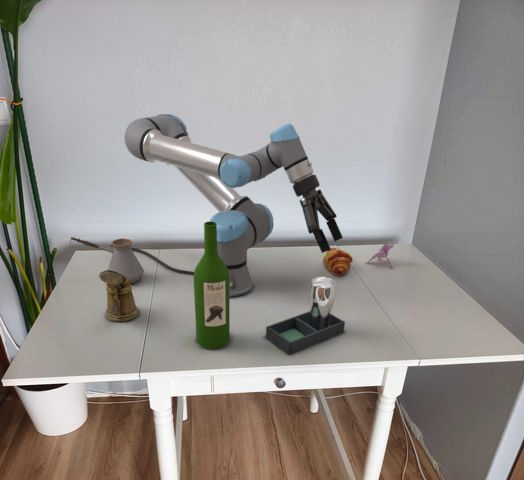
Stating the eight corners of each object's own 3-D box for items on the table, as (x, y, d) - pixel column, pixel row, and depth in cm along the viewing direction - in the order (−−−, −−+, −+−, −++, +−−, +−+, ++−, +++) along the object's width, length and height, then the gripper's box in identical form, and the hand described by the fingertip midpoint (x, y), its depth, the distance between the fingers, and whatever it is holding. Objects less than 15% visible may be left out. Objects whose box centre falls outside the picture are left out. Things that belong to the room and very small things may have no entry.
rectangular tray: (265, 337, 137) (266, 326, 135) (318, 317, 147) (320, 307, 145) (289, 354, 130) (290, 343, 128) (343, 332, 141) (344, 321, 139)
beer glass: (329, 337, 138) (335, 289, 130) (304, 334, 139) (308, 285, 131) (331, 325, 144) (337, 278, 135) (307, 322, 145) (311, 275, 136)
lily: (395, 261, 187) (388, 237, 185) (410, 261, 176) (402, 236, 173) (367, 274, 186) (359, 249, 184) (380, 274, 174) (371, 249, 172)
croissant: (324, 263, 189) (316, 245, 186) (349, 252, 187) (341, 233, 183) (331, 286, 171) (323, 267, 168) (359, 274, 169) (351, 254, 165)
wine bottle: (202, 352, 130) (197, 231, 112) (192, 335, 137) (186, 219, 119) (234, 345, 133) (234, 227, 115) (223, 329, 140) (221, 215, 122)
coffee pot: (144, 271, 170) (140, 228, 162) (143, 286, 160) (138, 241, 152) (79, 273, 167) (71, 230, 158) (74, 289, 157) (65, 244, 149)
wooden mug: (99, 330, 137) (89, 270, 127) (110, 306, 148) (101, 249, 138) (132, 330, 138) (124, 270, 128) (140, 307, 149) (134, 250, 139)
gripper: (300, 179, 134) (332, 251, 139) (326, 167, 154) (353, 230, 159) (277, 191, 138) (309, 261, 143) (305, 178, 158) (333, 239, 163)
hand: (332, 245), depth 151 cm, fingers open, 13 cm apart
